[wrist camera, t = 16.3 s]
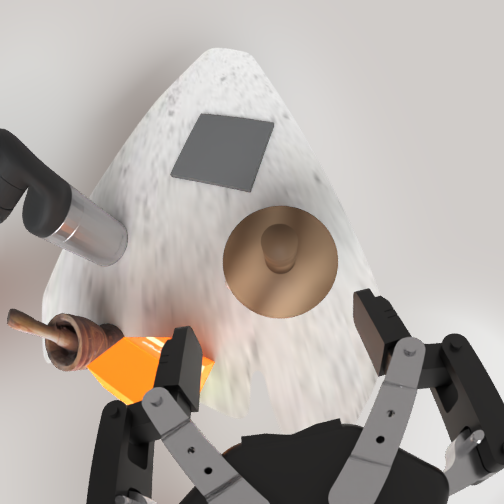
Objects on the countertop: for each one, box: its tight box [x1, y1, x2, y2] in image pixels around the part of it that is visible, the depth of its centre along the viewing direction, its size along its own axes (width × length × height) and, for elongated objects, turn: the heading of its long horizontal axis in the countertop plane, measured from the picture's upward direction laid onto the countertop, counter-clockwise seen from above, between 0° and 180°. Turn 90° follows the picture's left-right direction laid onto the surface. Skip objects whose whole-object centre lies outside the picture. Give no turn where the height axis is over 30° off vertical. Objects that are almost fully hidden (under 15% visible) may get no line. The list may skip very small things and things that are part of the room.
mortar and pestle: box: [7, 309, 124, 371], centre depth 35 cm, size 12×9×20 cm
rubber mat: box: [170, 114, 274, 192], centre depth 52 cm, size 16×16×1 cm
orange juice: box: [87, 337, 215, 405], centre depth 33 cm, size 8×9×20 cm
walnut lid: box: [223, 206, 338, 318], centre depth 31 cm, size 14×14×8 cm
